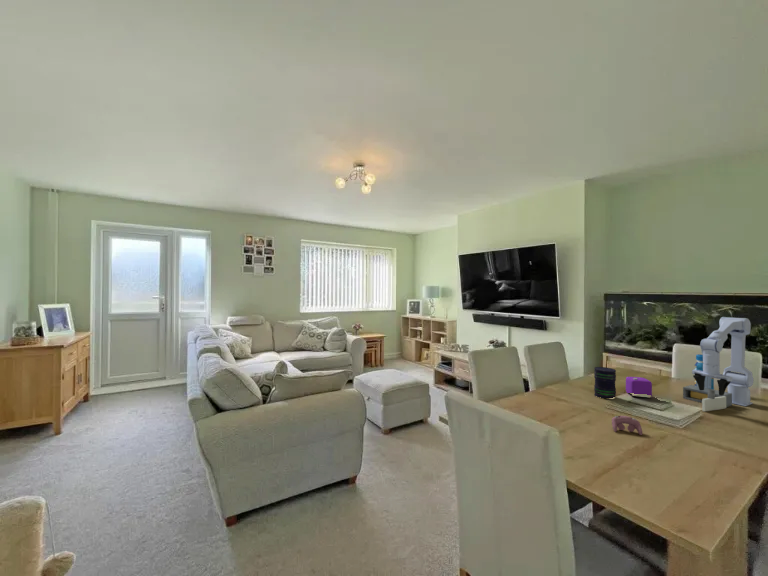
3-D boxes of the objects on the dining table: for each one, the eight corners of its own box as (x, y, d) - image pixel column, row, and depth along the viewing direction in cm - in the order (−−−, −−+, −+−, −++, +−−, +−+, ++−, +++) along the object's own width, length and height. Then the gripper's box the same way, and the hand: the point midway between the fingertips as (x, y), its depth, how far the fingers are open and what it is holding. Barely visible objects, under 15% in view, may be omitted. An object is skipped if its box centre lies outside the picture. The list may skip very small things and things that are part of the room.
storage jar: (620, 399, 173) (620, 371, 173) (601, 399, 173) (601, 371, 173) (607, 393, 183) (607, 366, 183) (590, 393, 183) (590, 366, 183)
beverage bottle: (701, 391, 187) (701, 356, 188) (690, 387, 196) (690, 353, 196) (718, 392, 186) (718, 357, 186) (706, 388, 194) (706, 354, 194)
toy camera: (639, 391, 187) (639, 374, 188) (656, 399, 174) (656, 380, 174) (618, 390, 188) (618, 373, 189) (634, 398, 175) (634, 379, 175)
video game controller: (640, 436, 133) (638, 418, 136) (643, 435, 129) (641, 416, 132) (611, 432, 137) (609, 414, 140) (613, 431, 133) (612, 413, 136)
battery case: (691, 395, 180) (691, 384, 180) (731, 405, 165) (731, 393, 165) (683, 398, 176) (683, 387, 176) (724, 407, 161) (724, 395, 161)
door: (700, 410, 157) (700, 390, 158) (722, 407, 162) (722, 387, 162) (706, 411, 155) (706, 391, 155) (728, 408, 159) (728, 389, 160)
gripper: (687, 361, 164) (687, 388, 164) (724, 368, 150) (725, 397, 150) (697, 360, 166) (697, 387, 166) (735, 367, 152) (735, 396, 152)
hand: (711, 392), depth 158 cm, fingers open, 7 cm apart
